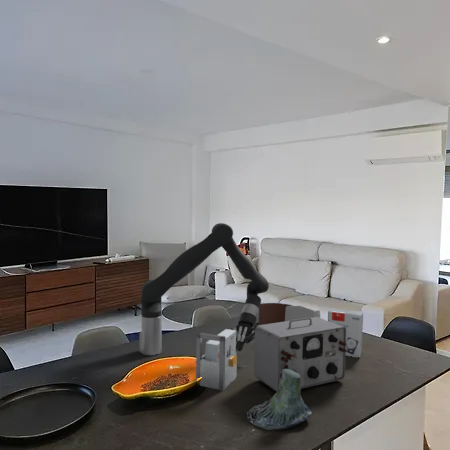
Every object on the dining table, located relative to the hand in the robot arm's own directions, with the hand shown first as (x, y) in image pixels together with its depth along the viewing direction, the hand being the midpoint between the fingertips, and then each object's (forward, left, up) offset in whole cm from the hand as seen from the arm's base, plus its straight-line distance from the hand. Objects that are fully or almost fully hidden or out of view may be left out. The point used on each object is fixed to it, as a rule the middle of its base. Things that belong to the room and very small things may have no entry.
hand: (238, 350), depth 186 cm
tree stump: (+30, -37, -6) cm, 48 cm away
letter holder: (-2, +62, -6) cm, 62 cm away
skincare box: (-2, -14, -6) cm, 16 cm away
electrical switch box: (+19, +40, -6) cm, 44 cm away
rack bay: (0, -20, -6) cm, 21 cm away
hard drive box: (+40, +34, -6) cm, 52 cm away
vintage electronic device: (+30, -7, -6) cm, 31 cm away
